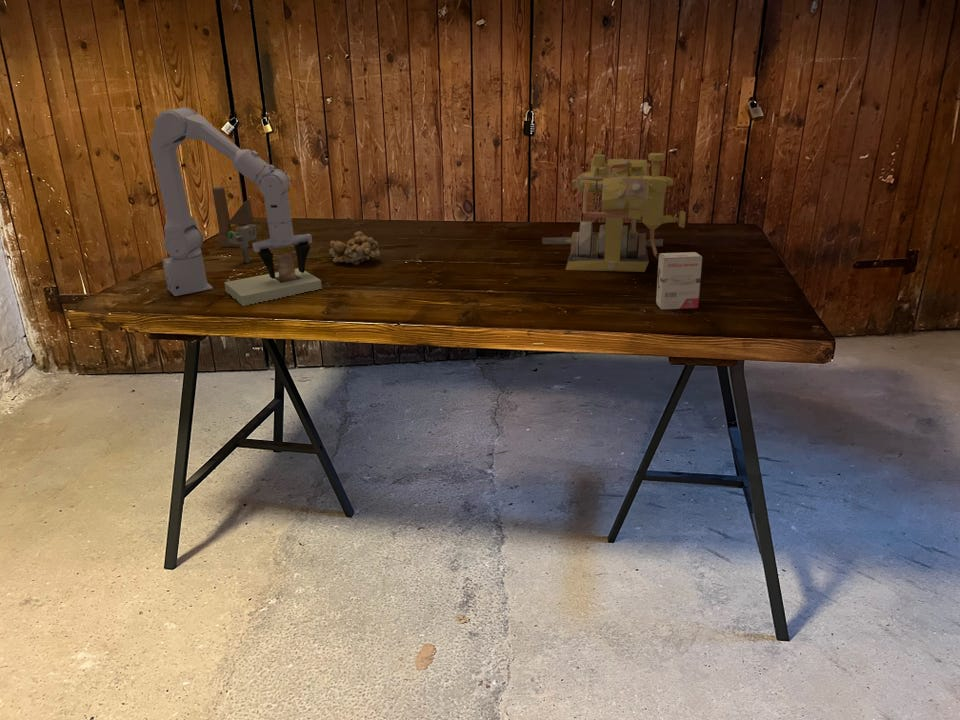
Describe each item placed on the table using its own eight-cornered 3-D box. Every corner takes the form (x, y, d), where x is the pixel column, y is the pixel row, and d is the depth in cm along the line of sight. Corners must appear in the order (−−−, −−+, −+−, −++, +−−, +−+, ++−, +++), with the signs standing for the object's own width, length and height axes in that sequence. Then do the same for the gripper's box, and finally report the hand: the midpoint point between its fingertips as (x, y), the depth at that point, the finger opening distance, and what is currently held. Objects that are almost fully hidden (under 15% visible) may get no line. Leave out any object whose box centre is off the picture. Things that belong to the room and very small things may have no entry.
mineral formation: (367, 252, 212) (393, 259, 201) (328, 268, 205) (353, 276, 194) (359, 226, 208) (386, 232, 197) (319, 242, 202) (344, 248, 190)
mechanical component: (229, 266, 202) (223, 231, 198) (255, 257, 211) (250, 223, 207) (237, 267, 201) (231, 232, 197) (263, 258, 209) (258, 224, 205)
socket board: (243, 306, 170) (241, 296, 169) (225, 291, 181) (224, 282, 180) (322, 289, 180) (320, 280, 179) (301, 276, 191) (300, 267, 190)
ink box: (691, 301, 165) (696, 250, 160) (698, 308, 160) (703, 256, 155) (654, 302, 164) (657, 252, 160) (660, 310, 160) (664, 258, 155)
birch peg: (284, 291, 180) (280, 260, 177) (278, 287, 183) (274, 257, 180) (299, 287, 182) (295, 257, 179) (293, 284, 185) (289, 254, 182)
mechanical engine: (683, 288, 173) (695, 160, 161) (532, 283, 180) (533, 160, 168) (676, 246, 208) (685, 139, 196) (550, 244, 215) (551, 140, 203)
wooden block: (252, 247, 222) (243, 188, 214) (219, 247, 223) (209, 188, 216) (257, 244, 225) (248, 186, 218) (224, 244, 226) (214, 186, 219)
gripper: (256, 228, 169) (264, 284, 175) (313, 219, 176) (320, 272, 182) (246, 223, 174) (255, 277, 180) (303, 215, 182) (309, 266, 187)
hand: (287, 274), depth 181 cm, fingers open, 7 cm apart
